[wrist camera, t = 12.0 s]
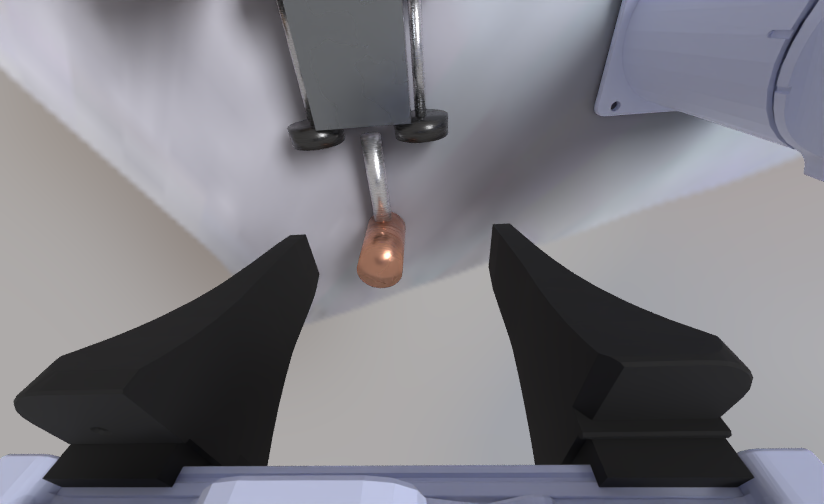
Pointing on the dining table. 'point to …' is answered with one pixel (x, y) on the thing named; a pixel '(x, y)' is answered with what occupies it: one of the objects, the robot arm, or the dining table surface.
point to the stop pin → (380, 223)
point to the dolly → (357, 70)
